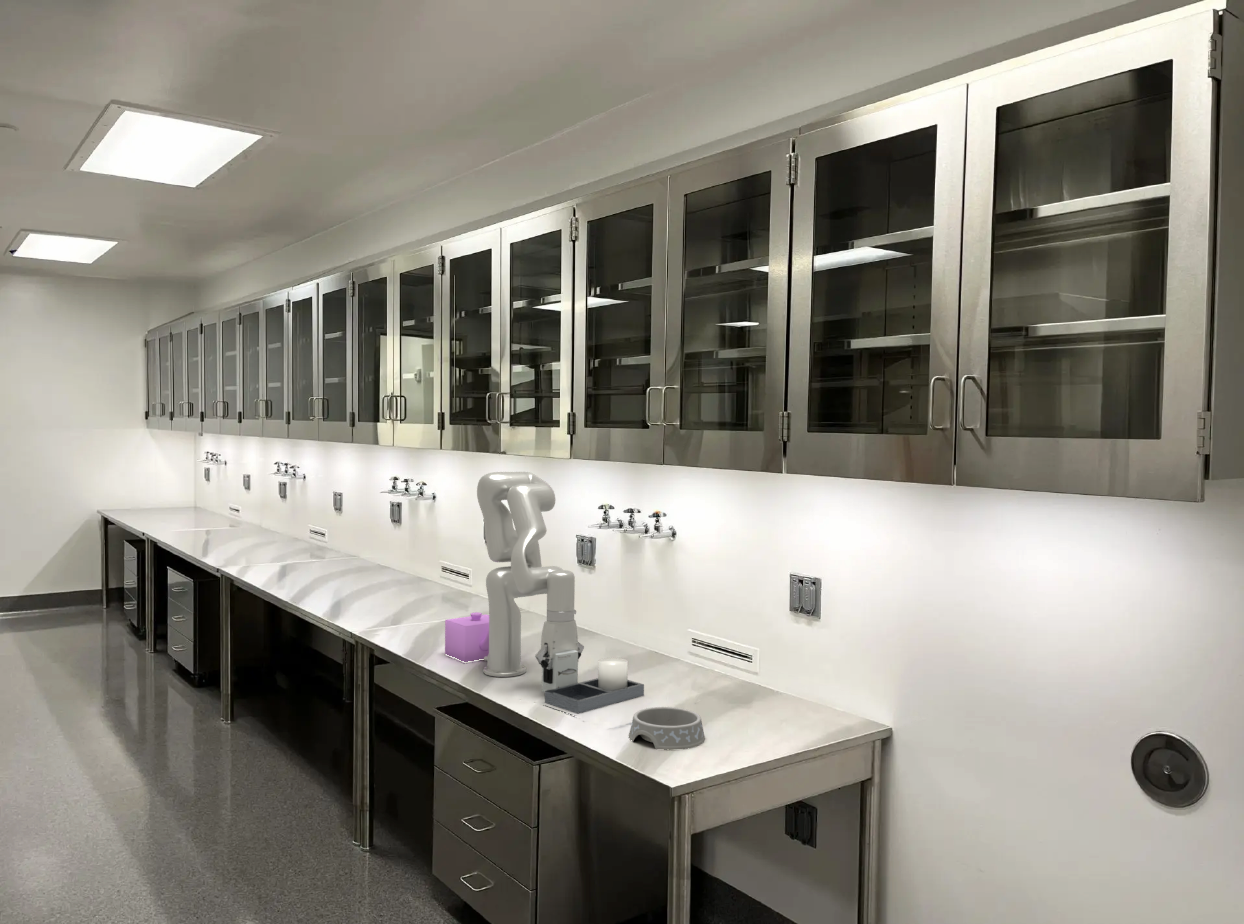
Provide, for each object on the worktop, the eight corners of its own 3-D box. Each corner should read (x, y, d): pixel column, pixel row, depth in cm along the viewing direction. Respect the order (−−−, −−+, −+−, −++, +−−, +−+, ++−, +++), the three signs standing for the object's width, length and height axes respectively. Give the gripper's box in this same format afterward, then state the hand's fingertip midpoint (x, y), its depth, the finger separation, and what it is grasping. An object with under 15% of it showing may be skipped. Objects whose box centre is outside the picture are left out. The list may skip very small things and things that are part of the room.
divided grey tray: (544, 706, 238) (544, 691, 238) (610, 689, 255) (610, 674, 255) (577, 717, 229) (577, 701, 229) (643, 699, 246) (644, 684, 246)
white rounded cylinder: (591, 693, 247) (592, 661, 247) (613, 688, 252) (613, 656, 252) (612, 700, 241) (612, 666, 241) (633, 694, 247) (633, 661, 246)
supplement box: (555, 701, 243) (555, 654, 242) (541, 694, 249) (541, 649, 248) (578, 697, 247) (578, 651, 247) (563, 690, 253) (564, 645, 253)
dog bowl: (659, 721, 228) (659, 700, 228) (719, 738, 216) (719, 715, 216) (614, 738, 215) (614, 715, 215) (675, 756, 203) (675, 733, 203)
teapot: (476, 668, 276) (477, 622, 276) (437, 652, 296) (438, 610, 295) (518, 661, 286) (519, 617, 285) (478, 646, 305) (478, 605, 305)
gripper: (575, 610, 256) (574, 671, 257) (526, 618, 244) (526, 683, 244) (593, 614, 251) (592, 677, 251) (544, 622, 239) (544, 688, 239)
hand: (559, 679), depth 248 cm, fingers closed on supplement box, 7 cm apart
